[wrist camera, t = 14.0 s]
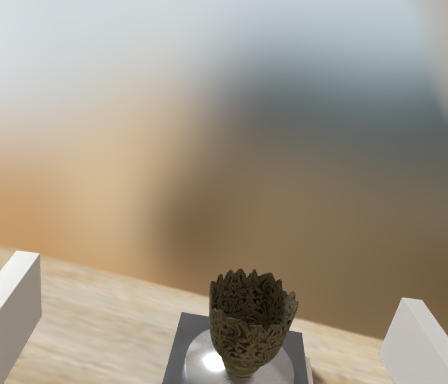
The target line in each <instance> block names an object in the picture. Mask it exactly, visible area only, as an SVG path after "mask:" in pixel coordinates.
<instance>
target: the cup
mask: <svg viewBox="0 0 448 384" xmlns="http://www.w3.org/2000/svg"><path fill="white" fill-rule="evenodd" d="M297 308H298V301H297V300H295V293H294V291H292V292H290V294H289V295H288V296H287V293H286V291H283V290H282V281H281V280H280V279H279V280H277V281H275V279H274V277H273V274H272V273H265V274H263V275H261V276H258V277H257V273H256V270H255V269H254V270H252V271H251V272H250V274H249V276H248V277H247V278H246V275H245V273H244V272H243V270H242V269H239V270H237V272H236V273H235V274H234V272H233V271H232V270H230V271H228V273H227V274H226V276H225V279H224V280H223V276H222V274H220V275H219V276H218V280H217V283H216V282H214V281H212V282H211V284H210V302H209V323H210V335H211V341H212V343H213V346H214V348H215V350H216V351H217V353H218V354H219V355H220V357H221V359H222V363H223V365H224V367H225V368H226V370H227V371H228V372H230V373H231V374H233V375H235V376H239V377H247V376H251V375H253V374H254V373H255V372H256V371H257V370H258V369H259V368H260V367H261V366H264V365H265V364H267V363H269V362H270V361H271V360H272V359H273V358H274V357H275V356H276V355H277V353H278V352H279V350H280V349H281V347H282V345H283V343H284V340H285V338H286V336H287V333H288V331H289V328H290V326H291V323H292V321H293V318H294V316H295V313H296V311H297Z"/></svg>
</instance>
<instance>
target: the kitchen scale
mask: <svg viewBox="0 0 448 384" xmlns="http://www.w3.org/2000/svg"><path fill="white" fill-rule="evenodd" d="M162 384H315V382H313V377H312V371H311V364H310V358H307V357H305V353H304V346H303V339H302V333H299V332H294V331H288V333H287V336H286V338H285V340H284V343H283V345H282V347H281V349H280V350H279V352H278V353H277V355H276V356H275V357H274V358H273V359H272V360H271V361H270V362H269V363H267V364H265V365H264V366H261V367H260V368H259V369H258V370H257V371H256V372H255V373H254V374H253V375H251V376H247V377H239V376H235V375H233V374H231V373H230V372H228V371H227V370H226V368H225V367H224V365H223V363H222V359H221V357H220V355H219V354H218V353H217V351H216V350H215V348H214V346H213V343H212V341H211V335H210V323H209V317H207V316H201V315H196V314H190V313H184V312H182V313H181V317H180V321H179V324H178V328H177V332H176V335H175V339H174V343H173V346H172V350H171V354H170V357H169V361H168V365H167V368H166V372H165V376H164V379H163V383H162Z"/></svg>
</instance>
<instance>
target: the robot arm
mask: <svg viewBox="0 0 448 384" xmlns="http://www.w3.org/2000/svg"><path fill="white" fill-rule="evenodd" d="M41 316H42V313H41V278H40V254H39V253H31V252H23V251H16V253H15V254H14V255H13V256H12V257H11V259H10V260H9V261H8V262H7V264H6V265H5V266H4V267H3V268H2V270H1V271H0V384H3V383H4V381H5V380H6V378H7V376H8V374H9V373H10V371H11V369H12V367H13V366H14V364H15V362H16V360H17V358H18V357H19V355H20V353H21V351H22V350H23V348H24V346H25V344H26V343H27V341H28V339H29V337H30V335H31V334H32V332H33V330H34V328H35V327H36V325H37V323H38V321H39V320H40V318H41ZM379 354H380V356H381V358H382V360H383V362H384V364H385V366H386V368H387V371H388V373H389V375H390V377H391V379H392V381H393V383H394V384H448V336H447V335H446V334H445V332H444V331H443V329H442V328H441V326H440V325H439V324H438V322H437V321H436V319H435V318H434V317H433V315H432V314H431V312H430V311H429V309H428V308H427V307H426V305H425V304H424V302H423V301H422V300H417V299H409V298H402V300H401V302H400V304H399V307H398V309H397V312H396V314H395V316H394V319H393V321H392V323H391V326H390V328H389V330H388V333H387V335H386V338H385V340H384V342H383V345H382V347H381V349H380V352H379Z"/></svg>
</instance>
